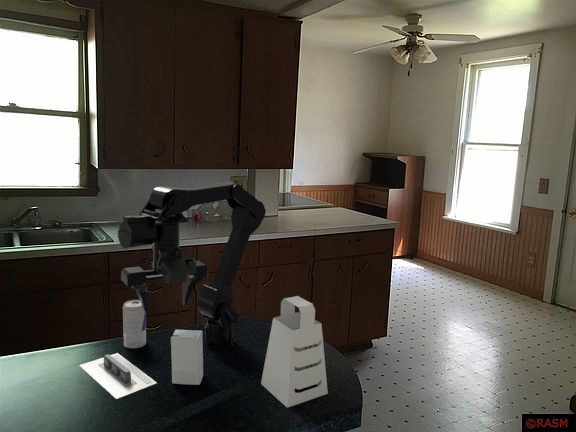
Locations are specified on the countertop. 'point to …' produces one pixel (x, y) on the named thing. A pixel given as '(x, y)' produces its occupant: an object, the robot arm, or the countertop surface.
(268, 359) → the grater
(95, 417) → the countertop surface
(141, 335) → the energy drink
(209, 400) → the countertop surface
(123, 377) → the breaker paddles
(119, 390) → the breaker panel
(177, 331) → the skincare box
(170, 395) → the countertop surface
